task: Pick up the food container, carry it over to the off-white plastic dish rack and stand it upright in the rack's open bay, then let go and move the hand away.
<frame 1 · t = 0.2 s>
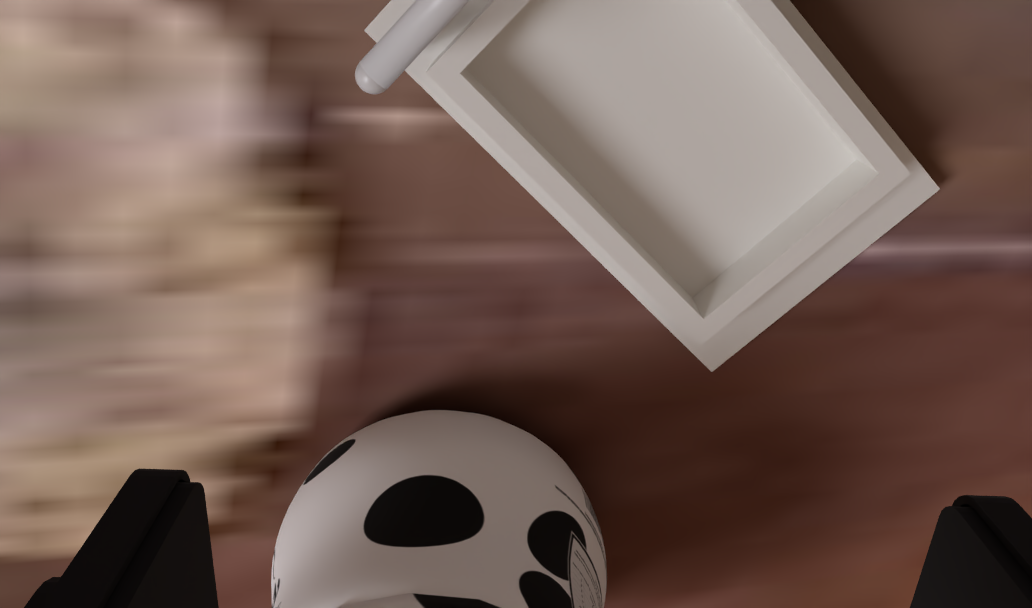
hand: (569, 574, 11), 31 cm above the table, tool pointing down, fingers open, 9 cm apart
dish rack: (661, 109, 39), on the table
milk container: (447, 511, 48), on the table
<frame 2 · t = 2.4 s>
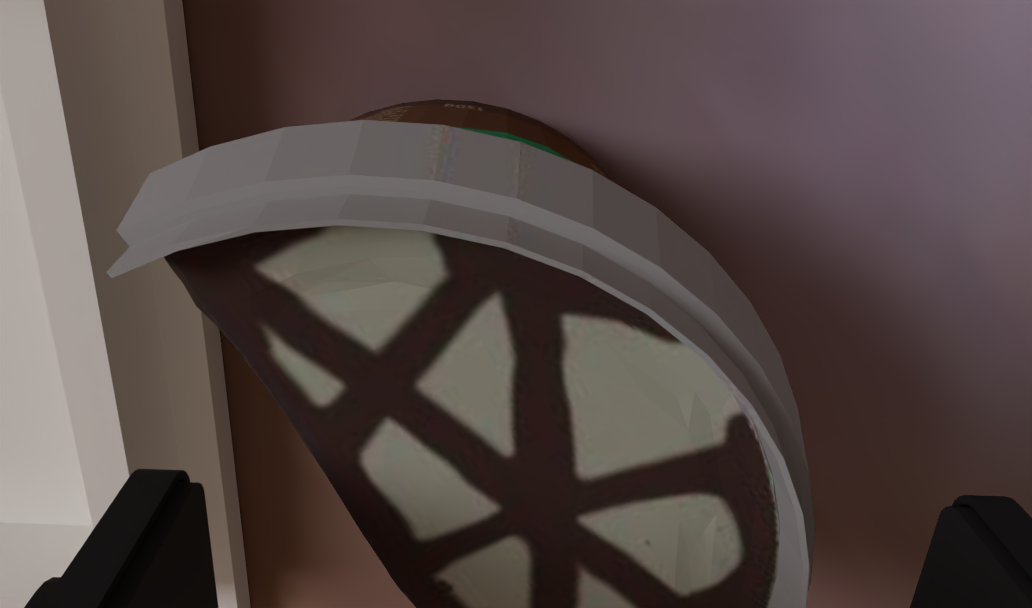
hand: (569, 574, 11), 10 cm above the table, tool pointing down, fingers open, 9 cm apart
food container: (554, 240, 20), on the table
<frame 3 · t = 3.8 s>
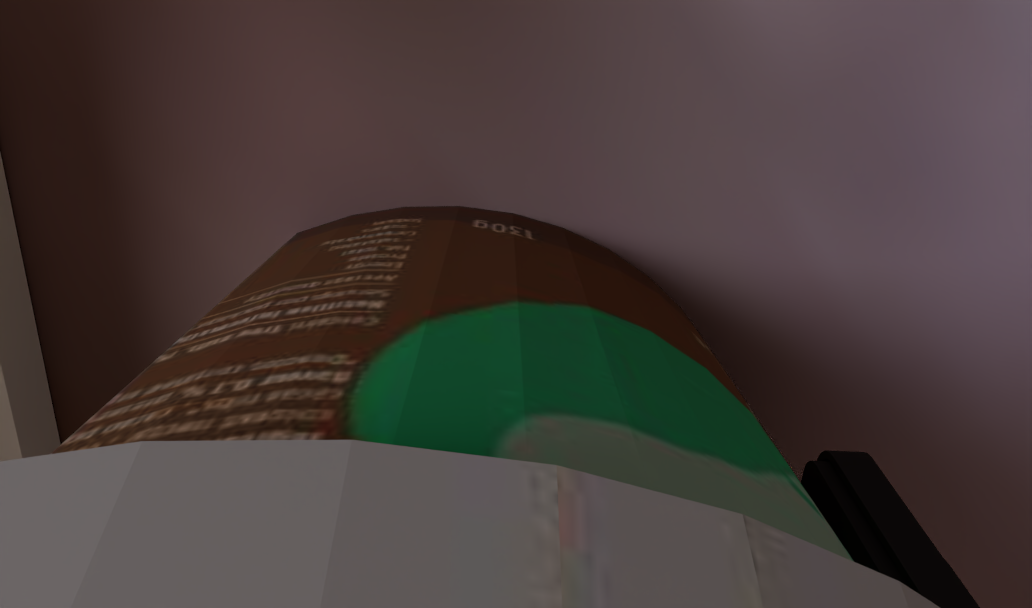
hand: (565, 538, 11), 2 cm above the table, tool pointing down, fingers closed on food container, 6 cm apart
food container: (607, 413, 13), on the table, touching gripper
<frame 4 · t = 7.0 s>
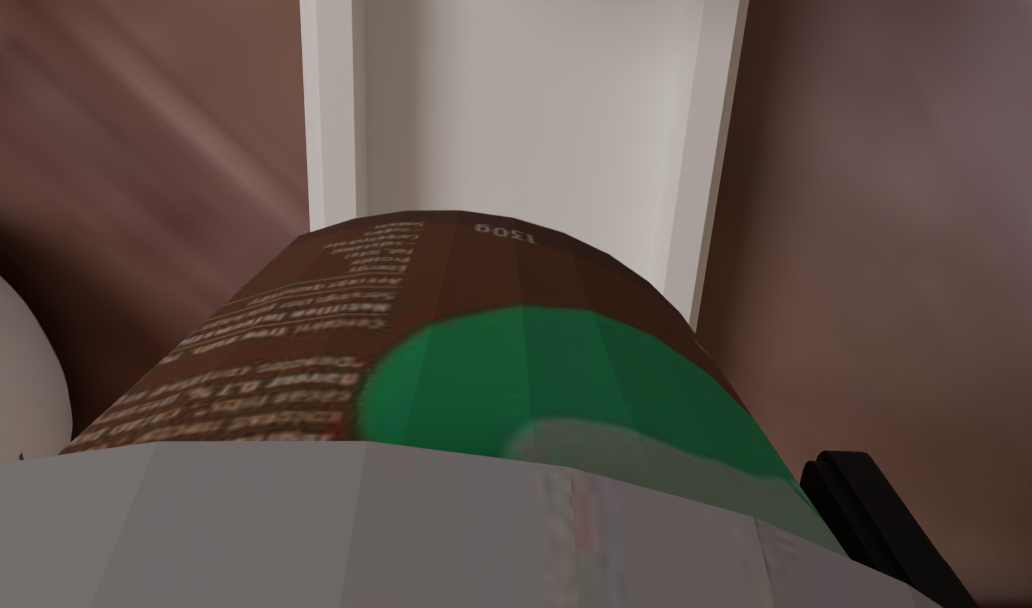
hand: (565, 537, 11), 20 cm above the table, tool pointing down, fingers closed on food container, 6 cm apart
food container: (606, 418, 13), point 17 cm above the table, touching gripper
dish rack: (514, 168, 29), on the table
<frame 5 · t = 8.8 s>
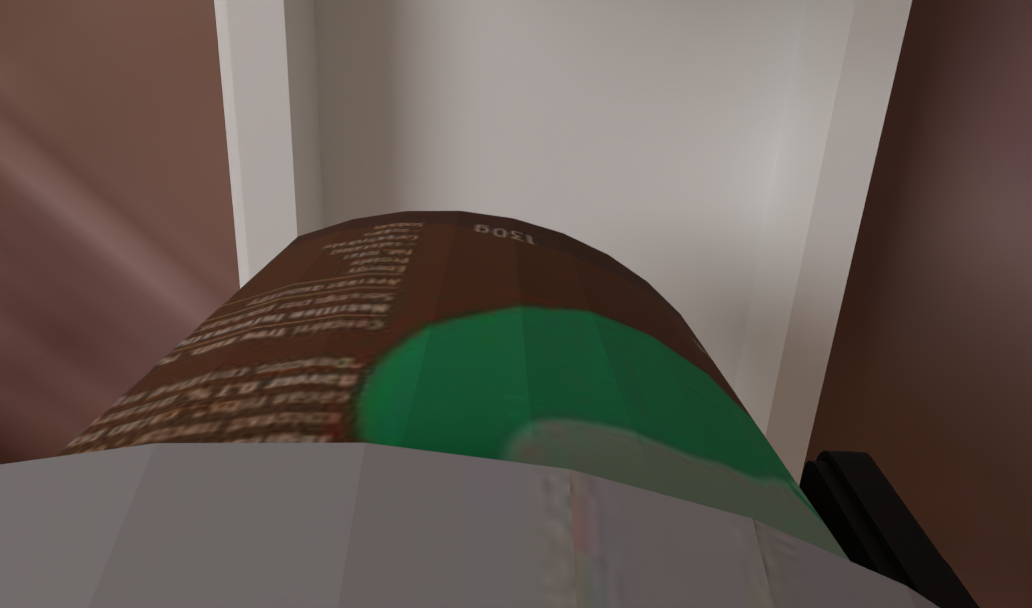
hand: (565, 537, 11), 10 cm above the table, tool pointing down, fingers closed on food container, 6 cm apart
food container: (606, 418, 13), point 7 cm above the table, touching gripper
dish rack: (539, 263, 20), on the table
when the fingers open (4 cm above the table, at t = 10.4 s): food container moves 1 cm, resting on dish rack.
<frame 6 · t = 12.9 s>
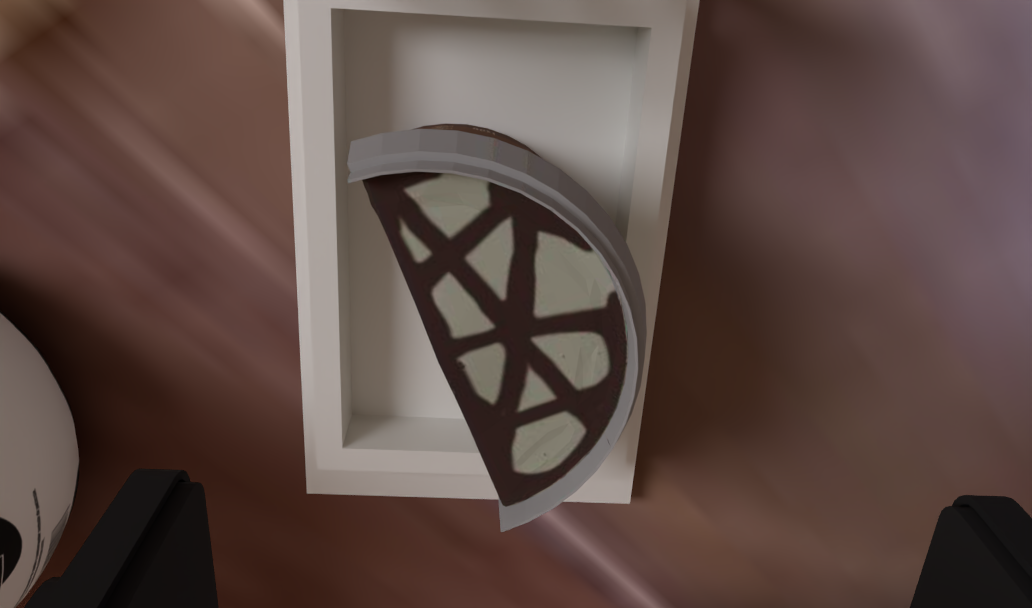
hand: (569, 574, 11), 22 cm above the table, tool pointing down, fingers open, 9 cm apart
food container: (524, 220, 31), point 1 cm above the table, touching dish rack
dish rack: (482, 227, 32), on the table
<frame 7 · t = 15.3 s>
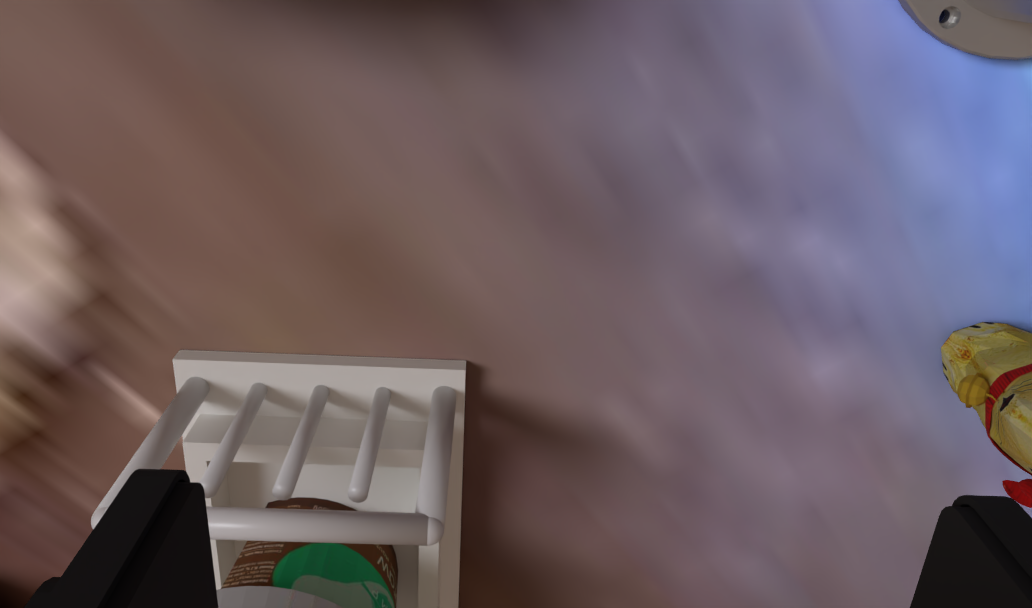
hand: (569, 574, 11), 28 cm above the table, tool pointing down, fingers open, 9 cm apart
food container: (359, 550, 45), point 1 cm above the table, touching dish rack
dish rack: (333, 548, 46), on the table
chocolate bunny: (995, 378, 42), on the table
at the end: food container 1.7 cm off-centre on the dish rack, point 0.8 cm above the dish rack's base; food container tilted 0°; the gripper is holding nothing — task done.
